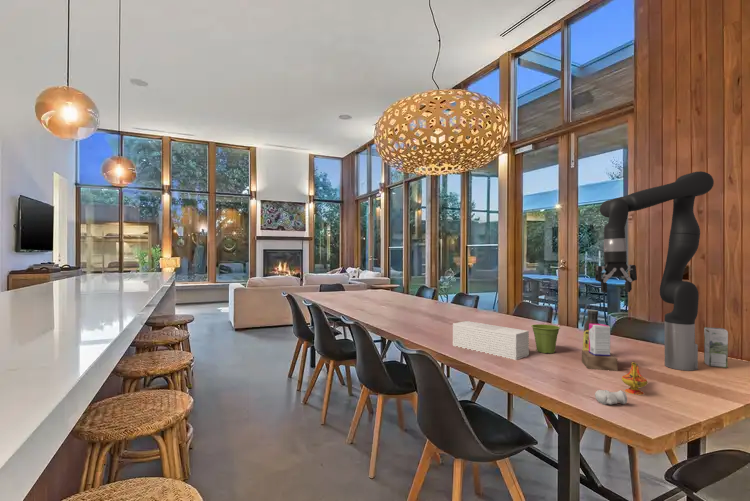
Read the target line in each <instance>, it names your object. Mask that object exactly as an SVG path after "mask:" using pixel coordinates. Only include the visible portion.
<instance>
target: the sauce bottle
mask: <svg viewBox="0 0 750 501" xmlns="http://www.w3.org/2000/svg"><path fill="white" fill-rule="evenodd" d="M586 313H587V320H586V322H585V323H584V325H583V335H582V337H583V338H582V340H583V341H582V350H586V351H589V324H600V323H599V322H598V320H599V319H598V318H599V310H596V309H587V312H586Z"/></svg>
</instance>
